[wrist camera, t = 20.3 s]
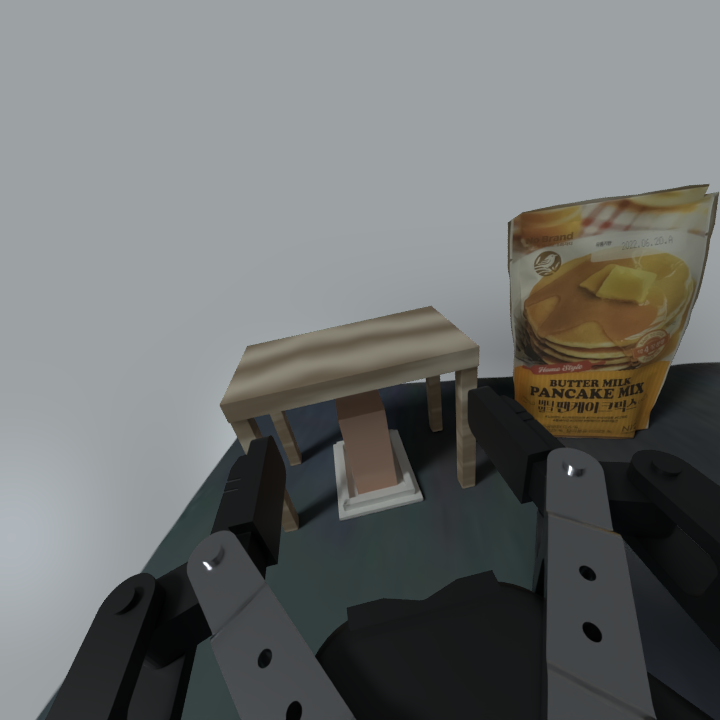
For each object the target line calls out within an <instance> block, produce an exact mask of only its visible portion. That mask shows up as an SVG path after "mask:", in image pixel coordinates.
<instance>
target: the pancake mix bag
mask: <svg viewBox="0 0 720 720" xmlns="http://www.w3.org/2000/svg"><path fill="white" fill-rule="evenodd" d="M708 187H709V184H703V185H689V186H684V187H678V188H673V189H667V190H660V191H654V192H648V193H643V194H638V195H629V196H618V197H607V198H599V199H592V200H586V201H581V202H575V203H569V204H563V205H556V206H552V207H546V208H541V209H537V210H532V211H527V212H523V213H521V214H520V215H518V216H517V217H515V218H514V219H512V220H511V221H510V222H508V272H509V277H510V314H511V315H510V317H511V328H512V335H513V342H514V370H513V380H514V386H515V400H516V401H518V402H519V403H520V404H521V405H522V406H523V407H524V408H525V409H526V410H527V412H529V413H530V414H531V415H532V416H533V417H534V419H535V420H537V421H538V422H540V423H541V424H542V425H543V426H544V427H545V428H546V429H547V430H548V431H549V432H550V433H551V434H552V435H553V436H554V437H567V438H604V439H630V438H634V434H635V431H636V430H642V429H647V428H648V425H649V417H650V412H651V410H652V408H653V406H654V405H655V403H656V400H657V398H658V395H659V393H660V391H661V389H662V387H663V384H664V382H665V379H666V376H667V373H668V370H669V368H670V365H671V363H672V360H673V358H674V356H675V354H676V352H677V350H678V347H679V345H680V342H681V340H682V337H683V335H684V333H685V330H686V328H687V326H688V324H689V320H690V316H691V312H692V309H693V307H694V304H695V302H696V300H697V298H698V294H699V290H700V287H701V283H702V279H703V275H704V270H705V266H706V261H707V256H708V250H709V244H710V238H711V235H712V231H713V228H714V225H715V218H716V210H717V202H718V196H719V192H716V193H711V194H705V193H706V191H707V189H708Z"/></svg>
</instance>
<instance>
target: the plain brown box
mask: <svg viewBox="0 0 720 720" xmlns="http://www.w3.org/2000/svg"><path fill="white" fill-rule="evenodd" d="M335 400H336V407H337V415H338V422H339V425H340V429H341V433H342V436H343V440H344V444H345V447H346V451H347V455H348V458H349V462H350V466H351V469H352V473H353V477H354V480H355V484H356V488H357V491H358V495H359V494H363V493H367V492H371V491H375V490H379V489H383V488H387V487H391V486H395V485H398V484H397V478H396V472H395V467H394V461H393V455H392V449H391V443H390V437H389V431H388V425H387V420H386V414H385V409H384V406H383V403H382V401H381V398H380V395H379V392H378V390H377V389H375V390H371V391H367V392H362V393H358V394H354V395H349V396H345V397H341V398H336V399H335Z"/></svg>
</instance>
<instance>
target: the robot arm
mask: <svg viewBox="0 0 720 720" xmlns="http://www.w3.org/2000/svg"><path fill="white" fill-rule="evenodd" d="M468 424H469V428H470V430H471V432H472V434H473V436H474V437H475V438H476V440H477V441H478V443H479V444H480V446H481V447H482V448H483V450H484V451H485V453H486V454H487V456H488V457H489V458H490V460H491V461H492V463H493V464H494V466H495V467H496V468H497V470H498V471H499V473H500V474H501V476H502V477H503V478H504V480H505V481H506V483H507V484H508V486H509V487H510V488H511V490H512V491H513V493H514V494H515V496H516V497H517V498H518V500H519V501H520V503H521V504H523V503H527V502H531V501H533V502H534V503H535V505H536V506H537V507H538V511H537V525H536V545H535V565H534V575H533V583H532V591H530V590H528V589H526V588H523V587H520V586H517V585H514V584H510V583H505V582H498V581H497V579H496V577H495V575H494V573H493V571H492V570H490V571H487V572H483V573H479V574H475V575H471V576H467V577H463V578H460V579H456V580H455V581H453V582H452V583H450V584H449V585H447V586H446V587H444V588H443V589H441V590H439V591H438V592H436V593H435V594H433V595H432V596H430V597H429V598H427V599H425V600H420V601H419V600H402V599H385V598H383V599H379V600H375V601H371V602H367V603H363V604H360V605H356V606H352V607H348V608H347V614H348V621H346V622H345V623H343V624H342V625H341V626H340V627H338V628H337V629H336V630H335V631H334V632H333V633H332V634H331V635H330V636H329V637H328V638H327V639H326V641H325V642H324V643H323V645H322V646H321V647H320V649H319V650H318V652H317V654H316V655H315V656H314V655H313V653H312V652H311V650H310V648H309V647H308V645H307V644H306V642H305V641H304V639H303V638H302V636H301V635H300V633H299V632H298V630H297V629H296V627H295V626H294V624H293V623H292V621H291V620H290V618H289V617H288V615H287V613H286V612H285V610H284V609H283V607H282V606H281V604H280V603H279V601H278V600H277V598H276V597H275V595H274V594H273V592H272V591H271V589H270V588H269V586H268V585H267V583H266V582H265V574H266V567H267V566H271V565H275V564H278V554H279V544H280V534H281V524H282V514H283V504H284V493H285V483H286V470H285V465H284V462H283V459H282V457H281V455H280V452H279V450H278V448H277V445H276V443H275V441H274V438H273V437H272V436H267V437H262V438H258V439H254V440H251V442H250V445H249V449H248V453H247V455H244V456H240V457H239V458H238V460H237V461H236V462H235V464H234V465H233V466H232V468H231V470H230V474H229V477H228V480H227V481H228V483H226V486H225V490H224V493H223V496H222V499H221V503H220V506H219V509H218V512H217V515H216V519H215V522H214V525H213V528H212V531H211V534H210V536H208V537H207V538H205V539H204V540H203V541H202V542H201V543H200V544H199V545H198V546H197V547H196V548H195V550H194V551H193V553H192V554H191V556H190V558H189V561H188V562H186V563H185V564H183V565H181V566H180V567H178V568H176V569H174V570H172V571H171V572H169V573H167V574H165V575H163V576H162V577H160V578H158V579H155V578H154V577H153V576H152V575H150V574H148V573H140V574H137V575H134V576H132V577H130V578H128V579H127V580H125V581H124V582H122V583H121V584H120V585H118V587H116V588H115V589H114V590H113V591H112V592H111V593H110V595H108V597H107V598H106V599H105V600H104V602H103V603H102V605H101V607H100V608H99V610H98V612H97V614H96V616H95V618H94V620H93V623H92V625H91V627H90V629H89V631H88V633H87V635H86V637H85V639H84V641H83V643H82V645H81V647H80V649H79V651H78V653H77V655H76V657H75V659H74V662H73V664H72V666H71V668H70V670H69V672H68V674H67V676H66V678H65V680H64V682H63V684H62V686H61V688H60V690H59V692H58V694H57V697H56V699H55V701H54V703H53V705H52V707H51V709H50V711H49V713H48V715H47V717H46V719H45V720H181V716H182V712H183V707H184V703H185V698H186V693H187V689H188V684H189V680H190V675H191V671H192V666H193V662H194V657H195V652H196V648H197V645H198V644H199V643H201V642H202V641H204V640H205V639H207V638H208V637H210V636H211V635H213V636H212V637H211V639H210V641H211V646H212V649H213V652H214V654H215V657H216V659H217V662H218V664H219V666H220V669H221V671H222V674H223V676H224V679H225V681H226V684H227V686H228V689H229V691H230V693H231V696H232V698H233V701H234V703H235V706H236V708H237V711H238V713H239V716H240V718H241V720H714V719H713V718H711V717H710V716H709V715H707V714H706V713H704V712H703V711H702V710H700V709H699V708H697V707H696V706H695V705H693V704H692V703H690V702H689V701H688V700H686V699H685V698H683V697H682V696H681V695H679V694H678V693H676V692H675V691H674V690H672V689H671V688H669V687H668V686H667V685H665V684H664V683H662V682H661V681H660V680H658V679H657V678H655V677H654V676H653V675H651V674H650V673H648V672H647V671H646V666H645V660H644V654H643V649H642V643H641V638H640V632H639V626H638V621H637V615H636V610H635V604H634V599H633V593H632V587H631V582H630V576H629V571H628V565H627V559H626V554H625V548H624V543H623V540H622V538H623V539H624V540H625V541H626V543H627V544H628V545H629V546H630V547H631V548H632V550H633V551H634V552H635V553H636V554H637V555H638V557H639V558H640V559H641V560H642V561H643V562H644V564H645V565H646V566H647V567H648V568H649V569H650V570H651V572H652V573H653V574H654V575H655V576H656V577H657V579H658V580H659V581H660V582H661V583H662V584H663V586H664V587H665V588H666V589H667V590H668V591H669V593H670V594H671V595H672V596H673V597H674V598H675V599H676V601H677V602H678V603H679V604H680V605H681V606H682V608H683V609H684V610H685V611H686V612H687V613H688V615H689V616H690V617H691V618H692V619H693V620H694V622H695V623H696V624H697V625H698V626H699V627H700V628H701V630H702V631H703V632H704V633H705V634H706V635H707V637H708V638H709V639H710V640H711V641H712V642H713V644H714V645H715V646H716V647H717V648H718V649H719V651H720V486H718V485H717V484H716V483H714V482H713V481H712V480H710V479H709V478H707V477H706V476H705V475H703V474H702V473H701V472H699V471H698V470H697V469H695V468H694V467H692V466H691V465H690V464H688V463H687V462H685V461H684V460H682V459H680V458H678V457H676V456H674V455H671V454H668V453H665V452H661V451H656V450H642V451H638V452H636V453H635V454H634V455H633V457H632V459H631V461H630V463H624V462H600V461H597V460H596V459H594V458H593V457H592V456H590V455H588V454H587V453H585V452H582V451H580V450H576V449H572V448H566V447H565V446H564V445H563V444H561V443H560V442H559V441H558V440H557V439H556V438H555V437H554V436H553V435H552V434H551V433H550V432H549V431H548V430H547V429H546V428H545V427H544V426H543V425H542V424H541V423H540V422H538V421H537V420H535V419H534V417H533V416H532V415H531V414H530V413H529V412H527V410H526V409H525V408H524V407H523V406H522V405H521V404H520V403H519V402H518V401H516V400H514V399H512V398H510V397H508V396H506V395H502V396H498V395H497V394H496V393H495V392H494V390H493V389H492V388H490V387H489V386H484V387H480V388H475V389H471V390H469V391H468ZM677 525H678V526H679V527H680V528H681V529H682V530H683V531H684V532H685V533H686V534H688V535H689V536H690V537H691V538H692V539H693V540H694V541H695V542H696V543H697V544H698V545H699V546H700V547H701V548H702V549H703V550H705V551H706V552H707V553H708V555H707V554H706V553H705V552H704V551H703V550H702V549H701V548H700V547H699V546H698V545H697V544H696V543H695V542H694V541H693V540H692V539H690V538H689V537H688V536H687V535H686V534H685V533H684V532H683V531H682V530H681V529H680V528H679V527H678V526H677Z"/></svg>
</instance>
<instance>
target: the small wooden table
mask: <svg viewBox="0 0 720 720" xmlns="http://www.w3.org/2000/svg"><path fill="white" fill-rule="evenodd" d="M478 366H479V346H478V345H477V344H476V343H474V341H472V340H471V339H470V338H469V337H468V336H466V335H465V334H464V333H463V332H462V331H460V330H459V329H458V328H457V327H456V326H455V325H453V324H452V323H451V322H450V321H449V320H447V319H446V318H445V317H444V316H443V315H442V314H440V313H439V312H438V311H437V310H436V309H434V308H433V307H432V306H428V307H424V308H420V309H415V310H410V311H406V312H401V313H396V314H392V315H387V316H383V317H378V318H374V319H369V320H364V321H360V322H355V323H351V324H346V325H342V326H337V327H332V328H328V329H324V330H319V331H314V332H310V333H305V334H301V335H296V336H292V337H287V338H282V339H278V340H273V341H269V342H265V343H260V344H255V345H251V346H247V348H246V350H245V352H244V354H243V356H242V358H241V361H240V363H239V365H238V367H237V369H236V371H235V374H234V376H233V378H232V380H231V382H230V384H229V386H228V388H227V391H226V393H225V395H224V397H223V399H222V401H221V403H220V407H221V409H222V411H223V413H224V415H225V417H226V419H227V421H228V422H229V423H231V425H232V427H233V429H234V431H235V433H236V435H237V437H238V439H239V441H240V443H241V445H242V447H243V449H244V451H245V453H246V455H247V453H248V449H249V445H250V442H251V440H254V439H258V438H262V434H261V432H260V430H259V428H258V426H257V423H256V421H255V419H254V417H258V416H262V415H267V414H270V416H271V418H272V421H273V423H274V426H275V428H276V430H277V433H278V435H279V438H280V440H281V442H282V445H283V447H284V450H285V452H286V455H287V457H288V459H289V462H290V464H291V466H293V465H297V464H301V459H302V456H301V453H300V450H299V448H298V445H297V442H296V440H295V437H294V435H293V432H292V429H291V427H290V424H289V421H288V419H287V416H286V413H285V411H284V410H288V409H293V408H297V407H301V406H306V405H310V404H314V403H319V402H323V401H328V400H332V399H336V398H341V397H345V396H349V395H354V394H358V393H362V392H367V391H371V390H375V389H380V388H384V387H389V386H393V385H397V384H402V383H406V382H410V381H414V380H419V379H423V378H426V388H427V400H428V413H429V426H430V428H431V429H432V431H433V432H436V431H440V430H443V426H442V407H441V388H440V375H441V374H445V373H450V372H454V371H455V384H456V430H457V476H458V480H459V482H460V484H461V486H462V488H463V489H464V488H468V487H472V486H475V462H476V438H475V437H474V436H473V434H472V432H471V430H470V428H469V424H468V391H469V390H471V389H475V388H477V367H478ZM282 526H283V528H284V530H285V532H290V531H294V530H298V526H299V517H298V514H297V512H296V510H295V508H294V505H293V503H292V501H291V499H290V497H289V494H288V492H287V490H286V488H285V493H284V504H283V514H282Z"/></svg>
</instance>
